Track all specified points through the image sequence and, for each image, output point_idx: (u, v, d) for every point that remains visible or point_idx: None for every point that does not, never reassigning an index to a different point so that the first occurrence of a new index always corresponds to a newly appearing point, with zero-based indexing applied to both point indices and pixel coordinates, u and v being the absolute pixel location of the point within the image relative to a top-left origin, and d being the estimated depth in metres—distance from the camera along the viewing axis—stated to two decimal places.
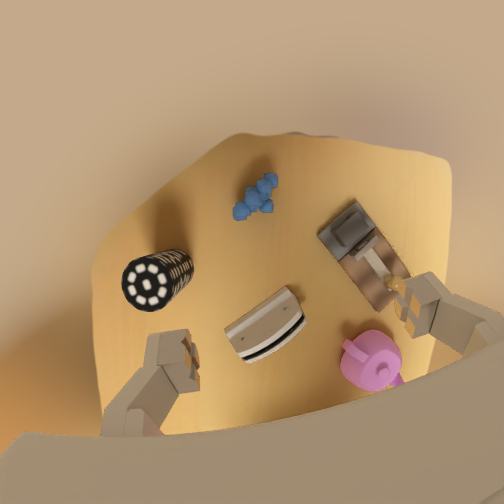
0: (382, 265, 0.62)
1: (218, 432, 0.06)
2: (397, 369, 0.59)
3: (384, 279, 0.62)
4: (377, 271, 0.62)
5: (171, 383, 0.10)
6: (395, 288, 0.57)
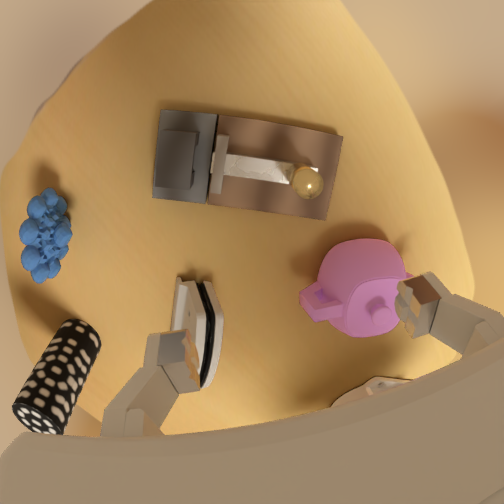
0: (269, 163, 0.35)
1: (218, 432, 0.06)
2: None
3: (288, 181, 0.35)
4: (268, 178, 0.35)
5: (171, 383, 0.10)
6: (305, 196, 0.31)
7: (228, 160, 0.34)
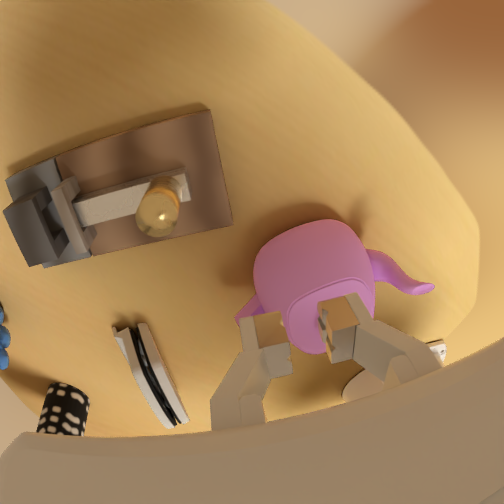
0: (122, 194, 0.25)
1: (218, 432, 0.06)
2: (361, 291, 0.27)
3: None
4: (130, 211, 0.26)
5: (267, 367, 0.10)
6: (160, 233, 0.22)
7: (79, 210, 0.25)
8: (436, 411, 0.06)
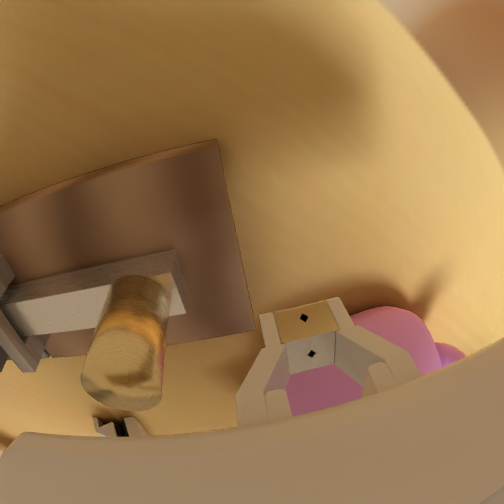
0: (68, 299, 0.14)
1: (218, 432, 0.06)
2: None
3: None
4: (85, 324, 0.14)
5: (288, 363, 0.10)
6: (132, 407, 0.10)
7: (12, 314, 0.14)
8: (436, 411, 0.06)
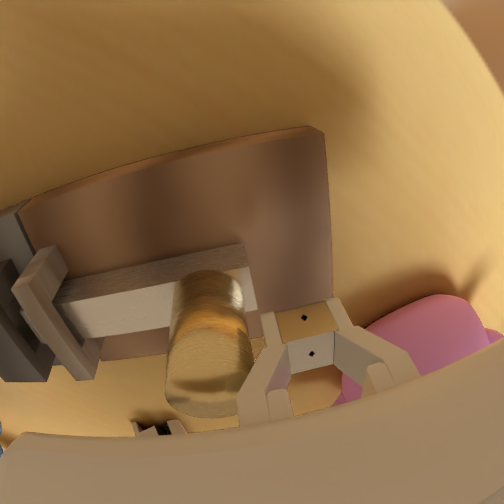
0: (124, 299, 0.13)
1: (218, 432, 0.06)
2: None
3: None
4: (141, 325, 0.14)
5: (289, 363, 0.10)
6: (219, 414, 0.10)
7: None
8: (436, 411, 0.06)
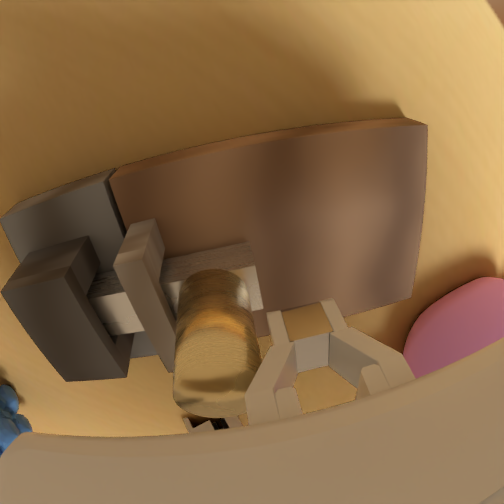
0: None
1: (218, 432, 0.06)
2: None
3: None
4: None
5: (296, 361, 0.10)
6: (226, 413, 0.10)
7: None
8: (436, 411, 0.06)
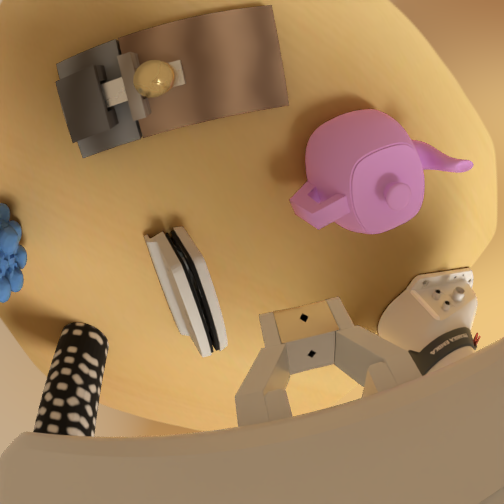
0: (120, 81, 0.24)
1: (218, 432, 0.06)
2: (414, 159, 0.27)
3: None
4: (126, 97, 0.25)
5: (288, 363, 0.10)
6: (155, 93, 0.21)
7: None
8: (436, 411, 0.06)
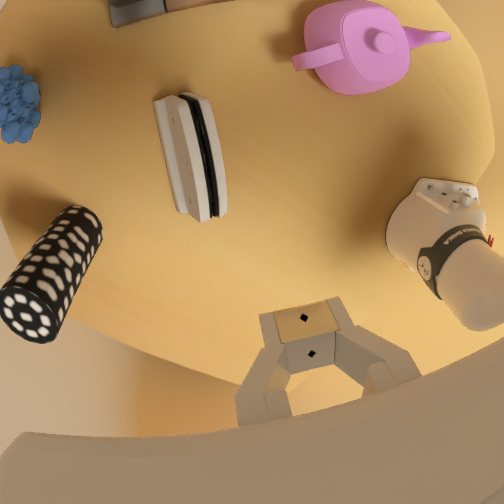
0: None
1: (218, 432, 0.06)
2: (395, 22, 0.26)
3: None
4: None
5: (288, 363, 0.10)
6: None
7: None
8: (436, 411, 0.06)
